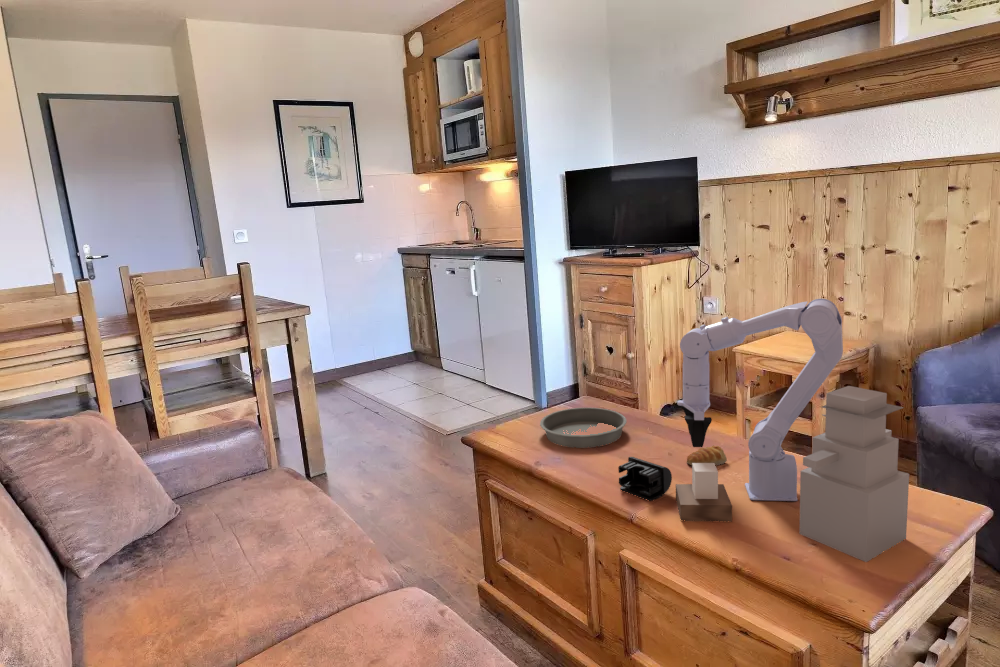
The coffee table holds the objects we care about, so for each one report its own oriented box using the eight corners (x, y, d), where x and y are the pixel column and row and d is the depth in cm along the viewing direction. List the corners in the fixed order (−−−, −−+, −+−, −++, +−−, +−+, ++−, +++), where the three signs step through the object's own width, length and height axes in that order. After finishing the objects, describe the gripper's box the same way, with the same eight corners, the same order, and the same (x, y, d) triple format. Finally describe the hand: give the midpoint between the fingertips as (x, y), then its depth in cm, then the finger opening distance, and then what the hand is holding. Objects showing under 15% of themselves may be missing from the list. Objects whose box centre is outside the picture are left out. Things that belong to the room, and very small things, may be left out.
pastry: (696, 471, 157) (696, 456, 156) (680, 462, 163) (680, 447, 162) (729, 464, 159) (729, 449, 159) (712, 455, 166) (711, 441, 165)
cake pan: (528, 429, 195) (528, 415, 194) (603, 416, 202) (602, 402, 201) (560, 457, 172) (559, 440, 171) (643, 441, 179) (642, 425, 178)
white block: (714, 489, 138) (714, 463, 136) (717, 499, 133) (718, 471, 132) (692, 489, 138) (692, 463, 137) (695, 498, 134) (695, 471, 133)
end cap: (672, 492, 146) (672, 464, 145) (652, 502, 142) (651, 473, 140) (637, 480, 154) (636, 453, 152) (617, 489, 149) (616, 461, 148)
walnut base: (723, 501, 141) (723, 484, 140) (731, 523, 131) (731, 505, 130) (675, 501, 142) (675, 484, 142) (680, 522, 133) (680, 504, 132)
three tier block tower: (922, 529, 123) (930, 386, 118) (849, 572, 111) (854, 415, 106) (855, 505, 134) (859, 374, 128) (782, 542, 122) (783, 398, 117)
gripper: (675, 374, 153) (675, 429, 155) (679, 391, 139) (680, 452, 141) (706, 374, 151) (706, 429, 154) (714, 391, 137) (713, 452, 140)
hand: (695, 440), depth 147 cm, fingers open, 7 cm apart
